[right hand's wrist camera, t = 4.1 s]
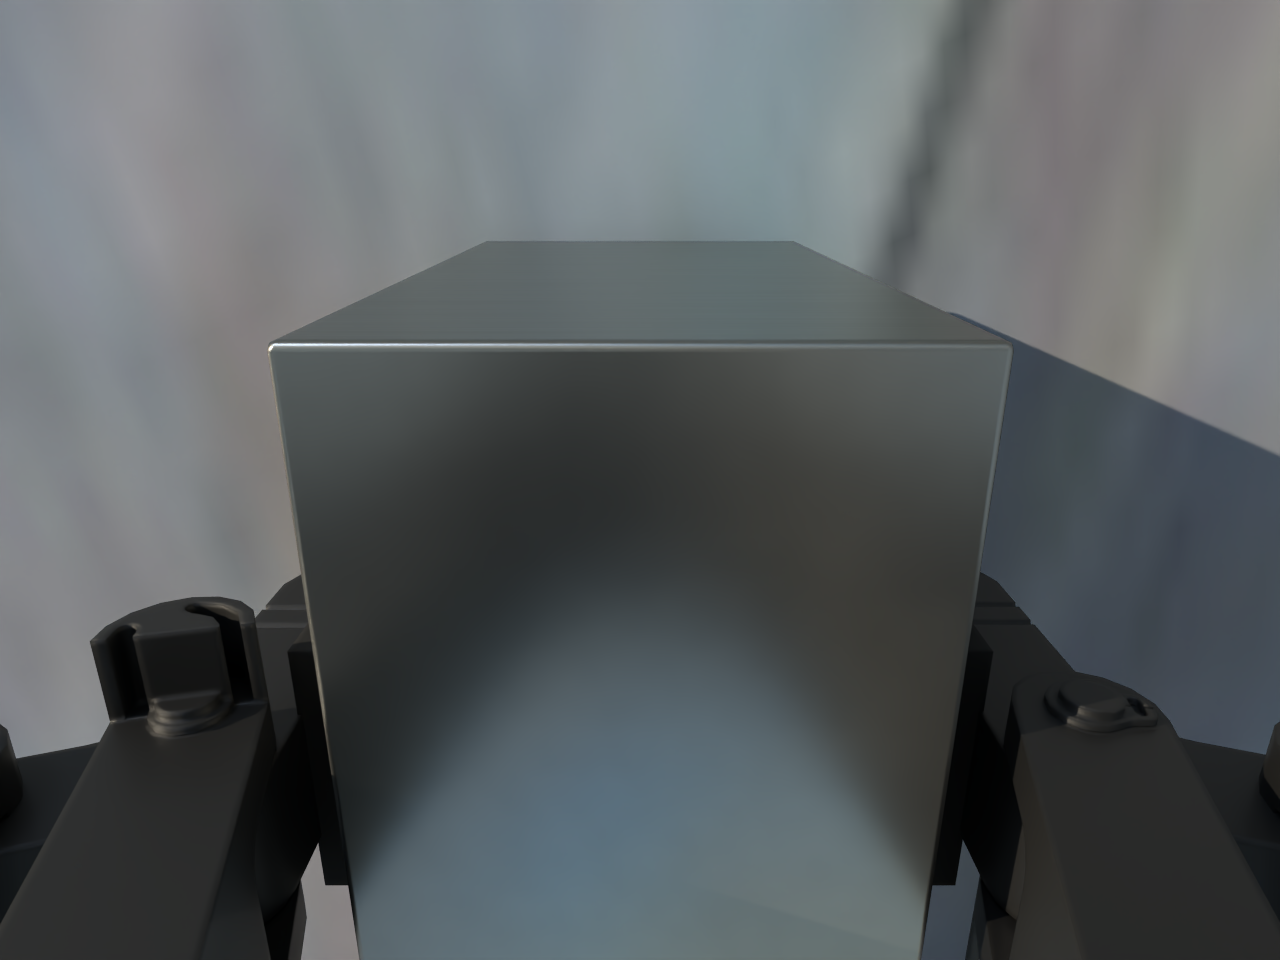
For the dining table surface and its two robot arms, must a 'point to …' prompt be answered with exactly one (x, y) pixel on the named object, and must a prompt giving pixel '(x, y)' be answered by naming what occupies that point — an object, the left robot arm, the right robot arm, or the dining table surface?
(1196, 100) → the dining table surface
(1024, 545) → the dining table surface
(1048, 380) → the dining table surface
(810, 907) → the bar
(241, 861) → the right robot arm
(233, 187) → the dining table surface
